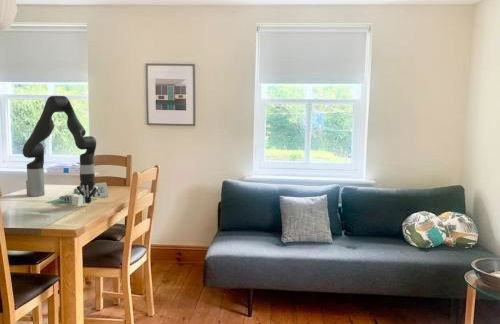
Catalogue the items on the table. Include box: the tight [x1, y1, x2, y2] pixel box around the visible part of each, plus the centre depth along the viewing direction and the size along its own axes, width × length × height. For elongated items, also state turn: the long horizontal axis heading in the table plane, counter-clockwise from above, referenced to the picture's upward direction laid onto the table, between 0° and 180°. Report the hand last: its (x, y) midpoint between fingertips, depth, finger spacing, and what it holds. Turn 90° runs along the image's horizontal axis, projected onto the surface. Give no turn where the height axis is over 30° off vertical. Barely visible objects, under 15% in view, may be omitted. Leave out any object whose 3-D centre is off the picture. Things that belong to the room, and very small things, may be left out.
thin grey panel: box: [58, 191, 81, 199], centre depth 234 cm, size 16×3×1 cm, turn 166°
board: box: [45, 187, 98, 206], centre depth 235 cm, size 22×19×7 cm
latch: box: [65, 193, 84, 207], centre depth 226 cm, size 8×4×6 cm, turn 76°
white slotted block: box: [60, 197, 84, 203], centre depth 234 cm, size 9×9×3 cm
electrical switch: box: [92, 181, 109, 199], centre depth 252 cm, size 9×5×9 cm, turn 141°
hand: (88, 203), depth 224 cm, fingers closed
